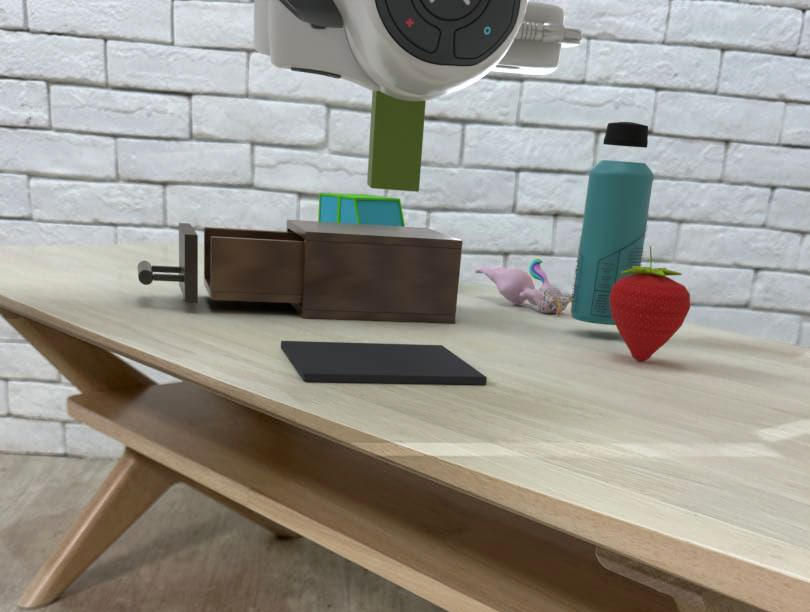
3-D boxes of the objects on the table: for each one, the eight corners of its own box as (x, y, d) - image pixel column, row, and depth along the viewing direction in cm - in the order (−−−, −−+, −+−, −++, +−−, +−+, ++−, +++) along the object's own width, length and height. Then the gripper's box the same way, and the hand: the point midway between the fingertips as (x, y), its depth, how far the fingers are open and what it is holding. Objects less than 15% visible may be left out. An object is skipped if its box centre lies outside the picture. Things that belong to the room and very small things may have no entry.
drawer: (139, 301, 93) (137, 231, 91) (137, 283, 103) (136, 220, 101) (335, 308, 98) (338, 242, 96) (315, 291, 108) (318, 230, 106)
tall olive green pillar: (370, 188, 71) (385, -69, 65) (367, 184, 77) (380, -53, 71) (419, 191, 72) (438, -64, 66) (412, 188, 77) (428, -48, 71)
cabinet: (302, 318, 97) (305, 231, 94) (284, 297, 108) (286, 219, 105) (455, 323, 101) (462, 240, 98) (422, 302, 112) (428, 228, 109)
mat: (303, 381, 72) (304, 373, 72) (280, 347, 83) (280, 340, 83) (486, 384, 76) (487, 377, 76) (441, 351, 86) (442, 345, 86)
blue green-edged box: (385, 291, 118) (391, 203, 114) (309, 275, 126) (313, 192, 123) (441, 287, 125) (448, 204, 122) (366, 273, 133) (371, 194, 130)
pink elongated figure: (582, 326, 113) (495, 285, 123) (596, 275, 111) (506, 236, 120) (544, 329, 110) (457, 286, 119) (557, 276, 107) (468, 236, 116)
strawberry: (654, 373, 85) (674, 252, 81) (585, 355, 90) (602, 240, 86) (693, 367, 89) (715, 251, 85) (626, 351, 94) (643, 240, 90)
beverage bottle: (617, 343, 97) (651, 122, 90) (555, 332, 100) (583, 117, 93) (640, 335, 102) (674, 126, 95) (580, 325, 106) (609, 122, 98)
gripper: (597, -25, 59) (547, 4, 71) (246, -60, 57) (260, -23, 69) (582, 92, 61) (536, 100, 74) (244, 63, 59) (258, 76, 72)
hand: (400, 40), depth 71 cm, fingers closed on tall olive green pillar, 3 cm apart
